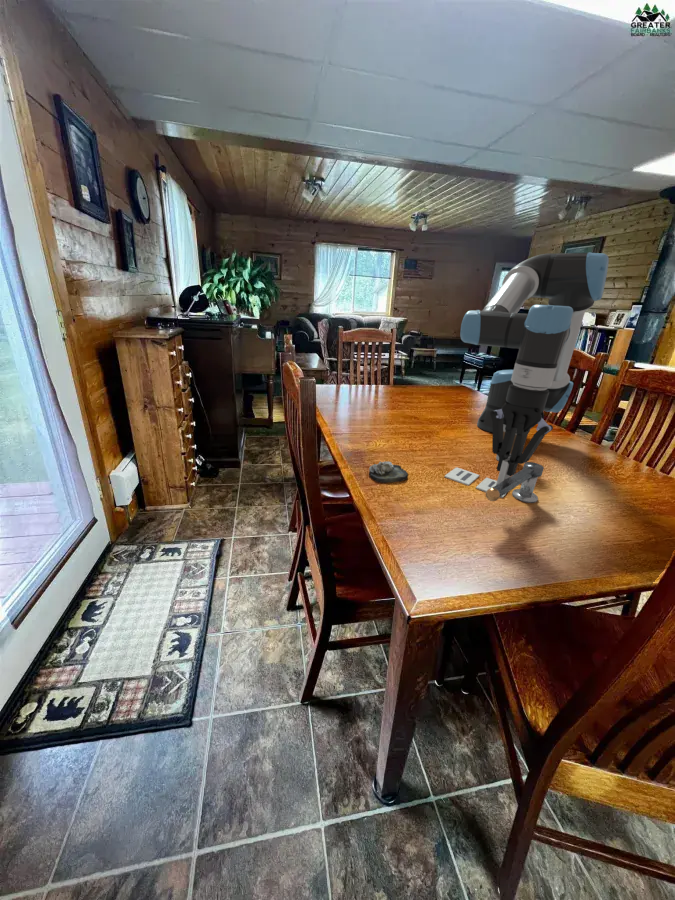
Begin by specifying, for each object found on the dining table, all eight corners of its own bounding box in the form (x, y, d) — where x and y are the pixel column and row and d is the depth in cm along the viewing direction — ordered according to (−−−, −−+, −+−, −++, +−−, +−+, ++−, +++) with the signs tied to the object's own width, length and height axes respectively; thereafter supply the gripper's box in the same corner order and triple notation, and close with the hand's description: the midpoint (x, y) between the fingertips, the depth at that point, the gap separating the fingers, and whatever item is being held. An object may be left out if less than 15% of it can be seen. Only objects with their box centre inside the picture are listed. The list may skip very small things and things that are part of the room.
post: (515, 488, 95) (522, 466, 93) (539, 496, 92) (547, 474, 89) (509, 496, 91) (515, 474, 88) (534, 505, 88) (541, 482, 85)
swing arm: (526, 468, 92) (529, 459, 91) (543, 475, 89) (547, 465, 88) (478, 497, 76) (481, 486, 75) (498, 506, 73) (501, 495, 72)
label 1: (456, 468, 105) (456, 466, 105) (479, 476, 101) (479, 474, 101) (444, 477, 100) (444, 475, 99) (468, 485, 95) (468, 484, 95)
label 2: (486, 478, 100) (486, 477, 100) (511, 487, 96) (512, 485, 96) (475, 488, 94) (476, 486, 94) (502, 498, 90) (503, 496, 90)
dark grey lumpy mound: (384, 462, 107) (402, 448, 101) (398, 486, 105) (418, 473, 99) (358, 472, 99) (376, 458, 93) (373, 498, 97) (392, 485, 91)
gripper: (491, 380, 75) (468, 477, 85) (553, 395, 66) (520, 502, 75) (509, 377, 79) (485, 470, 89) (571, 391, 70) (537, 493, 79)
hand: (501, 485), depth 82 cm, fingers closed
